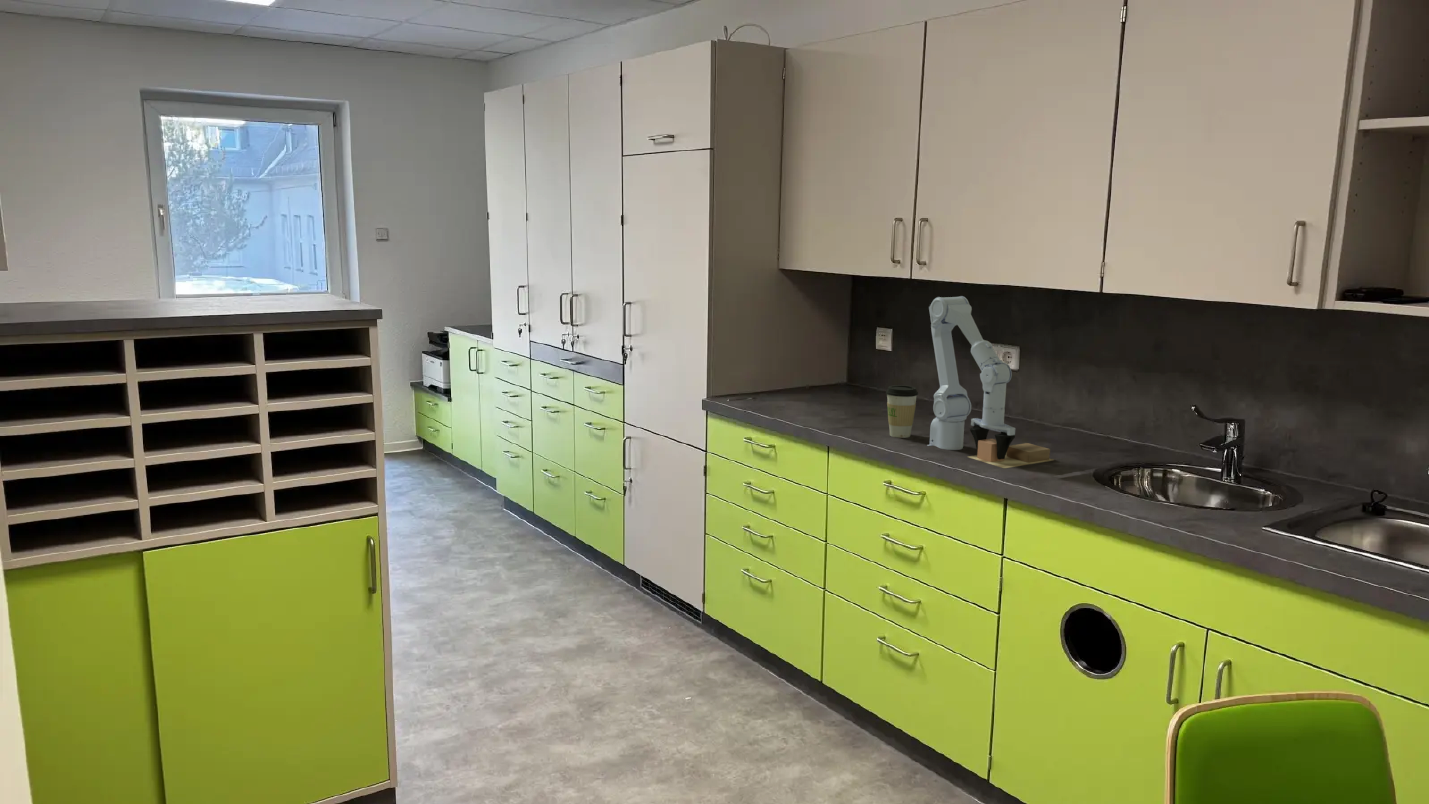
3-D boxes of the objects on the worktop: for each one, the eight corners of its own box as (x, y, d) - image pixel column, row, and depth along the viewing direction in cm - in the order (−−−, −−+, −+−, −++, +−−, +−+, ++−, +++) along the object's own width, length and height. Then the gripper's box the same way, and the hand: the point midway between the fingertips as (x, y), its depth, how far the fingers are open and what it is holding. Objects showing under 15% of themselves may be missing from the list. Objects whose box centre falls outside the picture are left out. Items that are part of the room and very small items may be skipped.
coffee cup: (890, 430, 300) (892, 383, 297) (920, 434, 295) (923, 386, 292) (879, 436, 291) (881, 388, 288) (909, 440, 286) (912, 391, 284)
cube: (977, 458, 263) (978, 440, 262) (990, 456, 265) (991, 438, 264) (990, 462, 258) (991, 444, 257) (1003, 460, 261) (1005, 442, 260)
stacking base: (966, 459, 264) (967, 446, 263) (1015, 451, 273) (1016, 438, 272) (1004, 471, 252) (1005, 457, 251) (1054, 462, 261) (1055, 449, 260)
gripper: (963, 404, 263) (961, 451, 266) (1002, 413, 251) (999, 463, 253) (982, 401, 266) (979, 448, 269) (1022, 411, 254) (1018, 460, 257)
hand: (990, 455), depth 261 cm, fingers open, 7 cm apart
